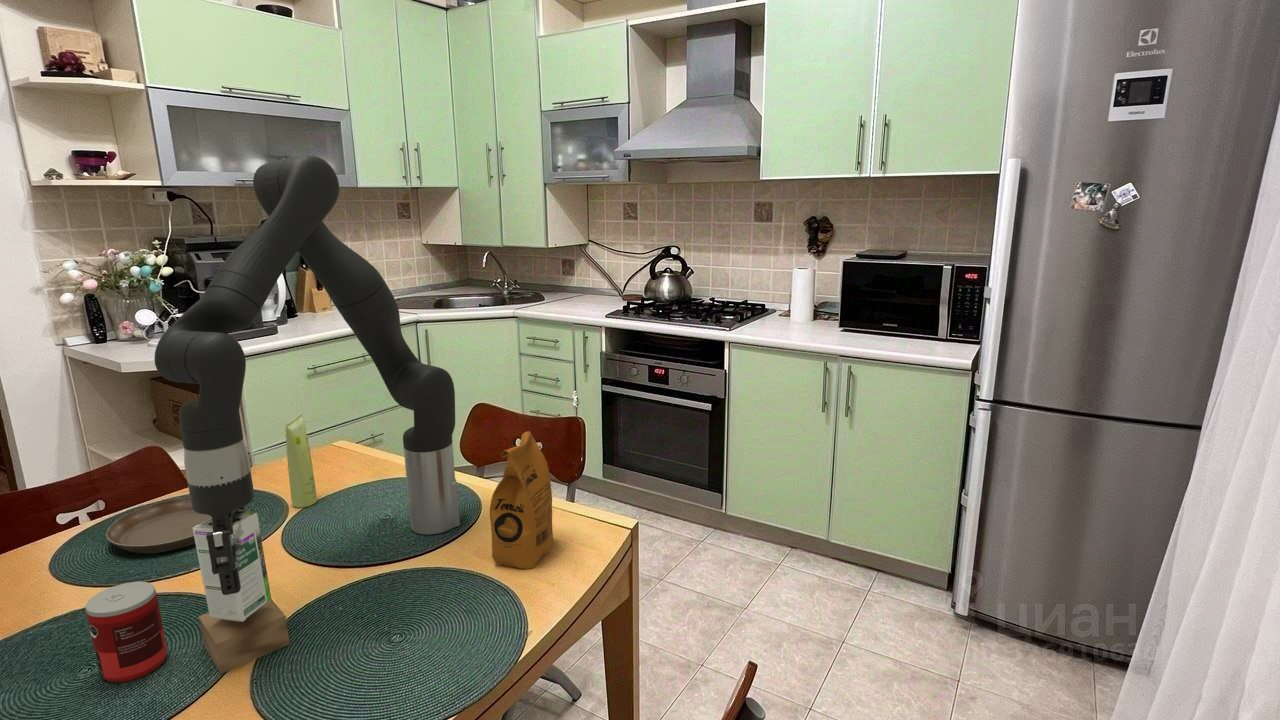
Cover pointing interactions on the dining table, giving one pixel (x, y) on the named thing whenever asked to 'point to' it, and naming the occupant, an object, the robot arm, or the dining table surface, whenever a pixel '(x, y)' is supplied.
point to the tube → (300, 464)
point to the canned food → (126, 631)
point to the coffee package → (522, 507)
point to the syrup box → (249, 570)
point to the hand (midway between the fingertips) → (236, 577)
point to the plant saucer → (157, 527)
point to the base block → (244, 636)
